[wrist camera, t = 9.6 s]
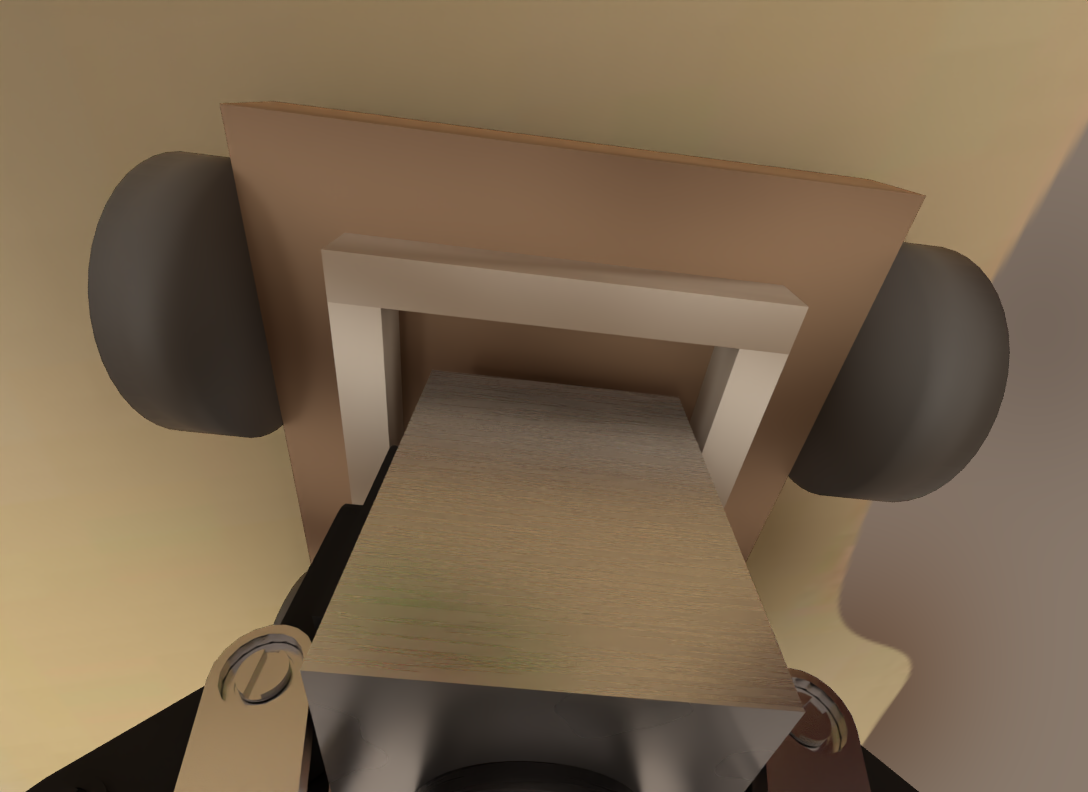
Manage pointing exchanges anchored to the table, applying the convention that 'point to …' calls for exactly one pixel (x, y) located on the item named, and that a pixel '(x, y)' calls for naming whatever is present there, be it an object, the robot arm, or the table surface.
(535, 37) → the table surface
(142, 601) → the table surface
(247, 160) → the chassis
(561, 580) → the block with dome knob
